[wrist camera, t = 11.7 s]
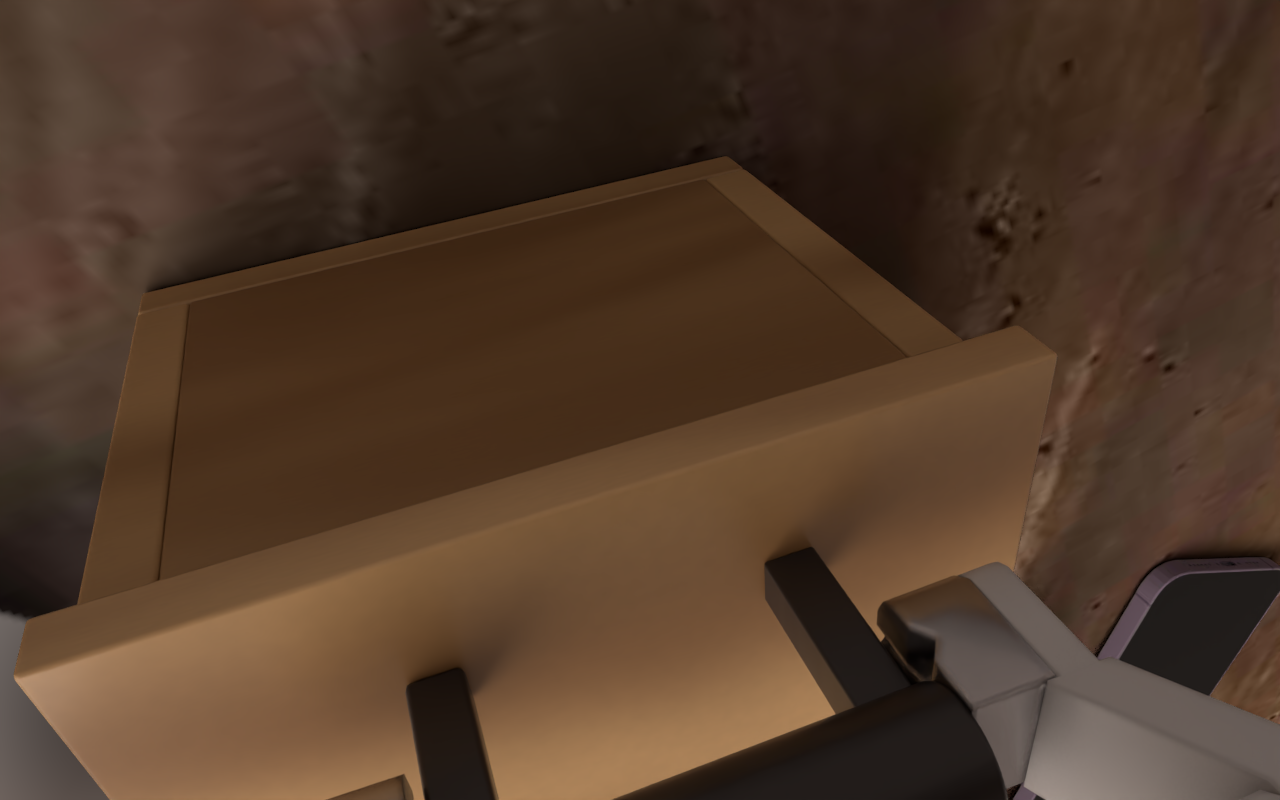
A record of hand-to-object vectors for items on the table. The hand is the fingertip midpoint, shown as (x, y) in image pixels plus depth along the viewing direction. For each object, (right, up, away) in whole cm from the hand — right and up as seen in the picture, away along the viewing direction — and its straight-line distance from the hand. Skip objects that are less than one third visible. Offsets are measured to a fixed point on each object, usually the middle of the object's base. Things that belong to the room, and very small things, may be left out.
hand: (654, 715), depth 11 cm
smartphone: (+20, -9, +28) cm, 36 cm away
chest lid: (0, -3, +5) cm, 6 cm away
